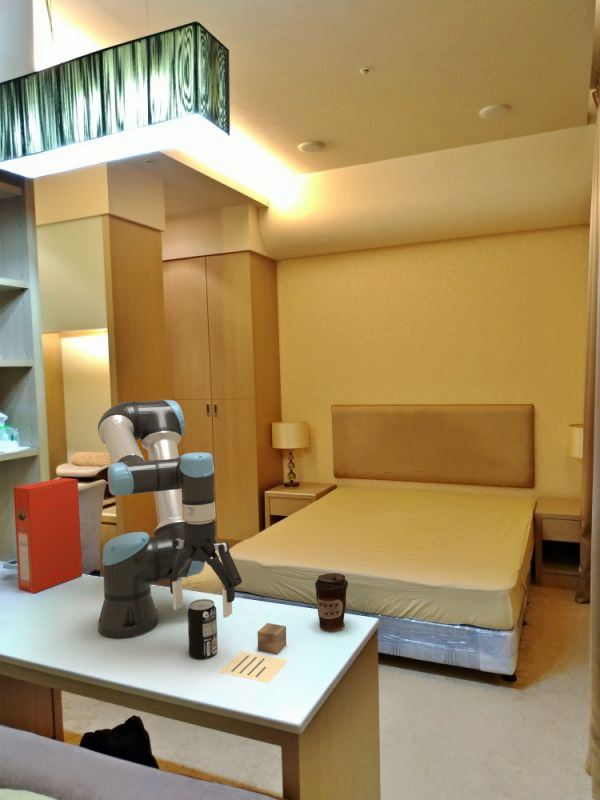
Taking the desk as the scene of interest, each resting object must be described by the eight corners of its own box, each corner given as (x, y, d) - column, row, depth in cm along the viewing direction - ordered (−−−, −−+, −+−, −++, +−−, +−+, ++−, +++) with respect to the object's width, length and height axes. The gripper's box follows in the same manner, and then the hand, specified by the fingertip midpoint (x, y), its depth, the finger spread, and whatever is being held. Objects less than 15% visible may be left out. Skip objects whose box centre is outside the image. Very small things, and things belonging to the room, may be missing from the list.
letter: (219, 673, 124) (219, 672, 124) (241, 652, 134) (241, 651, 133) (268, 684, 120) (268, 682, 119) (288, 661, 129) (288, 660, 129)
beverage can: (190, 648, 136) (189, 599, 136) (218, 646, 137) (216, 597, 136) (187, 662, 130) (185, 610, 129) (216, 660, 130) (215, 608, 130)
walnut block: (258, 652, 134) (257, 631, 133) (267, 643, 138) (267, 622, 138) (277, 656, 132) (276, 635, 131) (286, 646, 136) (285, 626, 136)
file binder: (18, 589, 177) (13, 487, 176) (66, 572, 192) (62, 477, 190) (34, 594, 173) (29, 489, 171) (82, 576, 188) (78, 479, 186)
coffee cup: (346, 636, 141) (345, 584, 140) (313, 633, 142) (312, 582, 142) (350, 620, 149) (349, 571, 148) (319, 618, 151) (318, 570, 150)
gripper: (145, 520, 133) (148, 610, 134) (238, 528, 123) (241, 625, 124) (165, 513, 140) (168, 598, 141) (254, 520, 130) (257, 612, 131)
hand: (202, 611), depth 132 cm, fingers open, 13 cm apart
